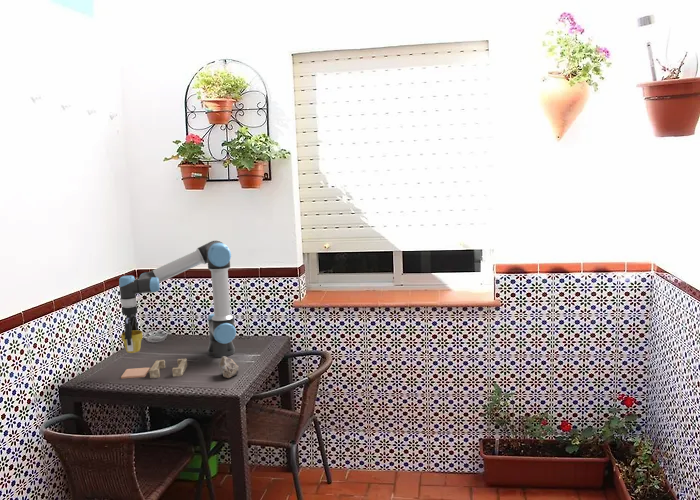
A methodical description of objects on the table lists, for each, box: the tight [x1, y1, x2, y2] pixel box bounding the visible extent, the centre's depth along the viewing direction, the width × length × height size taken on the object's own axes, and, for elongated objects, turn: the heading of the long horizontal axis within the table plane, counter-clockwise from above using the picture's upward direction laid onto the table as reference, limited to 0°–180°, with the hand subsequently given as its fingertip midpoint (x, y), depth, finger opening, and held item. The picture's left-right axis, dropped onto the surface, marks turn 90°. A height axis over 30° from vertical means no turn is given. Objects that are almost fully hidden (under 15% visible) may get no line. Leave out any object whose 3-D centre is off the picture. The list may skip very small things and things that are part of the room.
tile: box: [120, 367, 151, 379], centre depth 342 cm, size 12×12×1 cm
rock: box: [218, 356, 240, 379], centre depth 332 cm, size 9×12×10 cm
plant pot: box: [120, 329, 144, 354], centre depth 340 cm, size 10×10×10 cm
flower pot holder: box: [148, 358, 188, 379], centre depth 343 cm, size 16×16×4 cm
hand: (133, 347), depth 340 cm, fingers closed on plant pot, 10 cm apart
